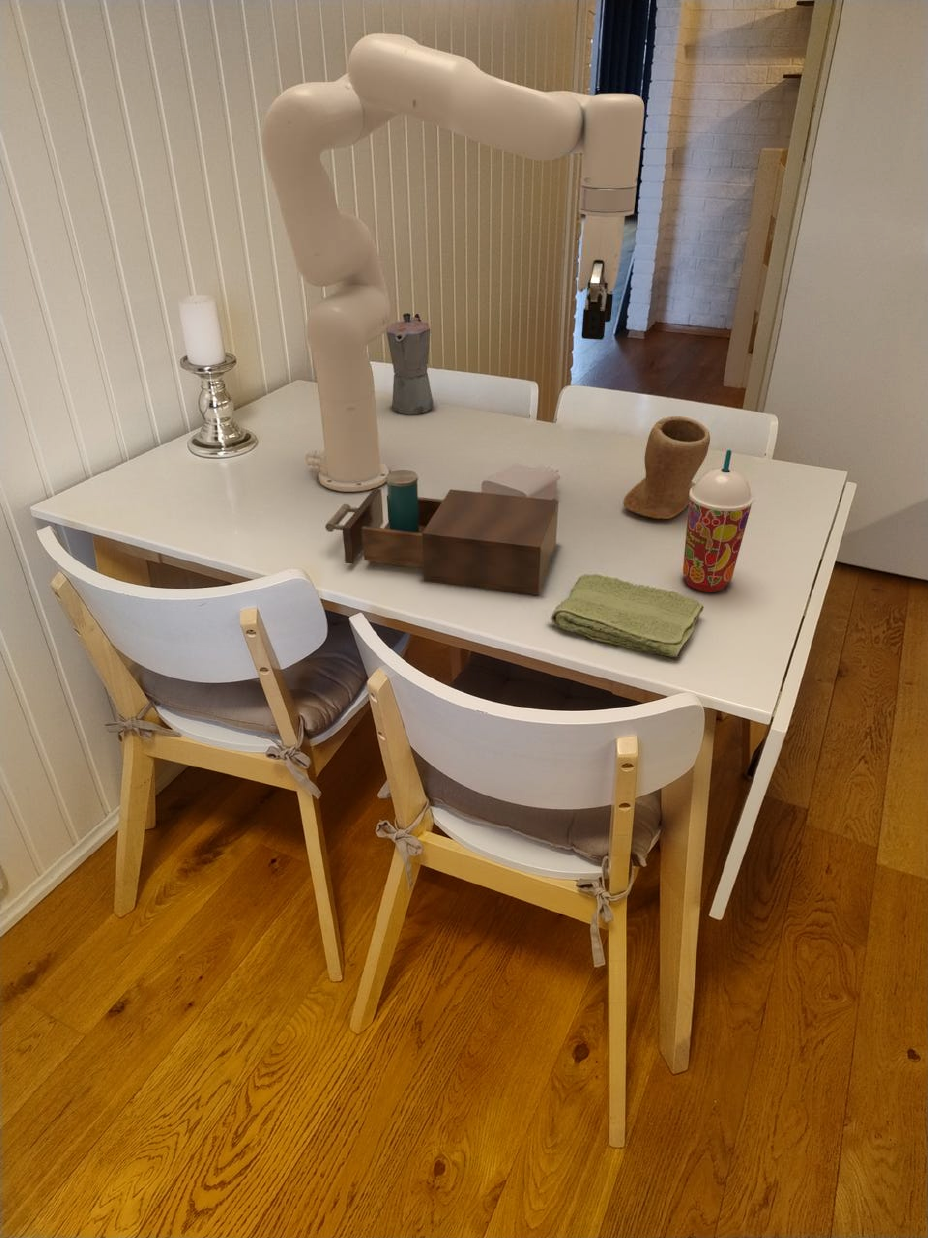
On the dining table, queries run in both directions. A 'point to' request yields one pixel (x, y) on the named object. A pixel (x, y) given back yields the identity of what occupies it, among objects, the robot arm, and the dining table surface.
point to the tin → (403, 500)
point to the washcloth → (628, 614)
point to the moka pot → (410, 365)
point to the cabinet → (490, 541)
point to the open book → (523, 482)
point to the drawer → (381, 532)
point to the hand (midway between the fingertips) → (596, 329)
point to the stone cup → (669, 467)
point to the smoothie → (715, 527)
